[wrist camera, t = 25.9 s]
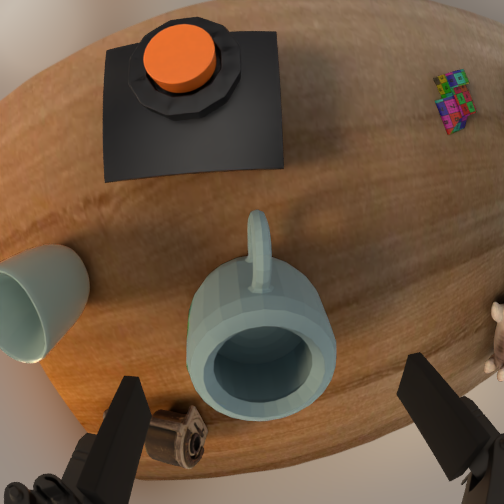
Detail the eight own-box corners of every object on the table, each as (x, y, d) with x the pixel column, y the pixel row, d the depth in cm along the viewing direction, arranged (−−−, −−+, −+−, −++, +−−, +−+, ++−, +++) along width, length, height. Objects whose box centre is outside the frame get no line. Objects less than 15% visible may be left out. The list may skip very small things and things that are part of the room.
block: (425, 80, 21) (445, 73, 18) (448, 74, 21) (468, 67, 18) (447, 134, 23) (469, 132, 20) (469, 125, 23) (489, 123, 19)
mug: (184, 203, 24) (151, 225, 14) (317, 200, 24) (368, 219, 14) (199, 358, 27) (188, 434, 18) (309, 352, 28) (338, 423, 18)
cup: (109, 308, 26) (63, 368, 16) (51, 311, 25) (-1, 361, 16) (90, 228, 23) (24, 261, 14) (30, 241, 23) (-35, 272, 14)
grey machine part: (203, 483, 27) (219, 458, 22) (99, 465, 24) (84, 434, 19) (202, 435, 33) (217, 399, 28) (107, 419, 30) (99, 377, 26)
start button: (216, 35, 14) (214, 20, 12) (217, 90, 15) (215, 80, 13) (153, 42, 14) (145, 29, 12) (151, 97, 15) (142, 88, 13)
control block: (267, 52, 20) (279, 14, 14) (273, 169, 23) (289, 168, 17) (128, 66, 20) (97, 36, 13) (129, 180, 23) (93, 184, 16)
